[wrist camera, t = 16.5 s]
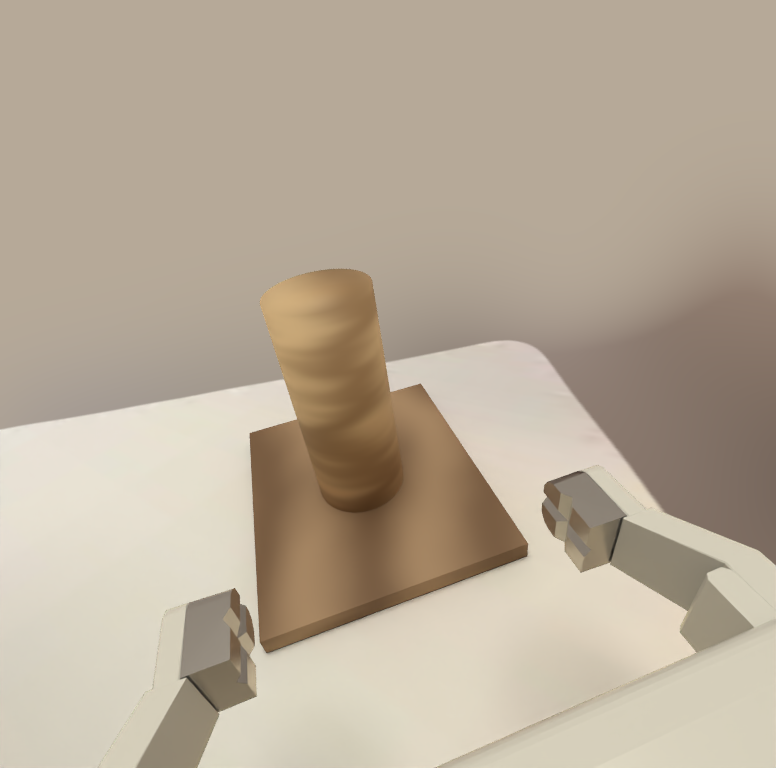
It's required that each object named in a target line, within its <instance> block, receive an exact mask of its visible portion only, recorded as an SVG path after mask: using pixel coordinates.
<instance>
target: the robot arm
mask: <svg viewBox="0 0 776 768" xmlns="http://www.w3.org/2000/svg"><path fill="white" fill-rule="evenodd" d="M544 493H545V494H546V496H547V498H546V499H545V500H544V502H543V503H542V514H543V518H544V521H545V523H546V525H547V527H548V529H549V530H550V532H551V533H552V535H553V536H554V537H555V538H557V539H559V540H561V541H563V542H565V552H566V554H567V555H568V556H569V558H570V559H571V560H572V562H573V563H574V564H575V566H576V567H577V568H578V570H579V571H580V572H581V573H582V572H584V571H587V570H590V569H593V568H596V567H599V566H602V565H604V564H607V563H610V562H611V563H610V564H611V565H612V566H614V567H616V568H617V569H619V570H621V571H622V572H624V573H625V574H627V575H629V576H630V577H632V578H634V579H635V580H637V581H639V582H640V583H642V584H644V585H645V586H647V587H649V588H650V589H652V590H654V591H655V592H657V593H659V594H660V595H662V596H664V597H665V598H667V599H669V600H670V601H672V602H674V603H675V604H677V605H679V606H680V607H682V608H684V609H685V610H687V611H688V612H687V614H686V616H685V618H684V620H683V622H682V624H681V627H680V633H681V634H682V635H683V637H684V638H685V639H686V640H687V641H688V643H689V644H690V645H691V646H692V647H693V649H694V650H695V651H696V652H697V653H695V654H693V655H690V656H688V657H686V658H684V659H681V660H679V661H677V662H675V663H672V664H670V665H668V666H665V667H663V668H661V669H659V670H656V671H654V672H652V673H649V674H647V675H645V676H643V677H640V678H638V679H636V680H634V681H631V682H629V683H627V684H624V685H622V686H620V687H618V688H615V689H613V690H611V691H608V692H606V693H604V694H602V695H599V696H597V697H595V698H592V699H590V700H588V701H586V702H583V703H581V704H579V705H577V706H574V707H572V708H570V709H567V710H565V711H563V712H561V713H558V714H556V715H554V716H551V717H549V718H547V719H545V720H542V721H540V722H538V723H535V724H533V725H531V726H529V727H526V728H524V729H522V730H520V731H517V732H515V733H513V734H510V735H508V736H506V737H504V738H501V739H499V740H497V741H494V742H492V743H490V744H488V745H485V746H483V747H481V748H479V749H476V750H474V751H472V752H469V753H467V754H465V755H463V756H460V757H458V758H456V759H453V760H451V761H449V762H447V763H444V764H442V765H440V766H437V767H435V768H776V565H775V564H773V563H772V562H771V561H770V560H769V559H767V558H766V557H765V556H764V555H763V554H762V553H761V552H759V551H758V550H755V549H753V548H750V547H748V546H745V545H743V544H740V543H738V542H735V541H733V540H730V539H728V538H725V537H723V536H720V535H718V534H715V533H713V532H710V531H708V530H705V529H703V528H700V527H698V526H695V525H693V524H690V523H688V522H685V521H683V520H680V519H678V518H676V517H673V516H671V515H668V514H666V513H663V512H661V511H658V510H656V509H653V508H649V509H645V508H644V507H643V506H642V505H641V504H640V503H639V502H638V501H637V500H636V499H635V498H634V497H633V496H632V495H631V494H630V493H629V492H628V491H627V490H626V489H625V488H624V487H623V486H622V485H621V484H620V483H619V482H618V481H617V480H616V479H615V478H613V477H612V476H611V475H610V474H609V473H608V472H607V471H606V470H605V469H604V468H603V467H601V466H599V465H596V466H593V467H590V468H587V469H584V470H582V471H577V472H574V473H571V474H568V475H566V476H563V477H560V478H557V479H554V480H552V481H549V482H547V483H546V484H545V485H544ZM254 646H255V640H254V630H253V624H252V619H251V616H250V613H249V611H248V609H247V607H246V606H245V605H241V604H240V595H239V594H238V592H237V591H236V589H235V588H234V589H231V590H228V591H225V592H221V593H218V594H215V595H212V596H209V597H206V598H203V599H200V600H197V601H194V602H190V603H187V604H184V605H181V606H178V607H175V608H172V609H169V610H166V612H165V614H164V616H163V619H162V624H161V631H160V639H159V646H158V653H157V660H156V667H155V674H154V681H153V689H152V690H150V691H147V692H145V694H144V695H143V697H142V698H141V700H140V701H139V703H138V705H137V706H136V708H135V709H134V711H133V713H132V714H131V716H130V717H129V719H128V720H127V722H126V724H125V725H124V727H123V728H122V730H121V732H120V733H119V735H118V736H117V738H116V739H115V741H114V743H113V744H112V746H111V747H110V749H109V751H108V752H107V754H106V755H105V757H104V758H103V760H102V762H101V763H100V765H99V766H98V768H197V767H198V764H199V762H200V760H201V757H202V755H203V752H204V750H205V748H206V745H207V743H208V741H209V738H210V736H211V733H212V731H213V729H214V726H215V724H216V722H217V719H218V717H219V713H218V712H220V711H223V710H225V709H228V708H230V707H232V706H235V705H237V704H240V703H242V702H245V701H247V700H249V699H252V698H254V697H257V692H256V665H255V664H254V662H253V661H252V659H251V658H250V654H251V652H252V650H253V648H254Z"/></svg>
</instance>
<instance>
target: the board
mask: <svg viewBox="0 0 776 768" xmlns="http://www.w3.org/2000/svg"><path fill="white" fill-rule="evenodd" d="M390 395H391V401H392V407H393V413H394V419H395V425H396V432H397V438H398V444H399V450H400V456H401V462H402V469H403V482H402V485H401V487H400V489H399V491H398V492H397V493H396V495H395V496H394V497H393V498H392V499H391V500H389V501H388V502H387V503H385V504H384V505H382V506H380V507H378V508H375V509H373V510H369V511H365V512H356V513H353V512H345V511H341V510H338V509H336V508H334V507H332V506H331V505H329V504H328V503H327V502H326V501H325V499H324V498H323V496H322V493H321V490H320V487H319V484H318V481H317V478H316V475H315V472H314V469H313V466H312V463H311V460H310V456H309V453H308V450H307V447H306V444H305V441H304V438H303V435H302V432H301V429H300V426H299V423H298V420H294V421H290V422H287V423H283V424H280V425H276V426H273V427H269V428H266V429H263V430H259V431H256V432H252V433H250V450H251V471H252V491H253V512H254V532H255V553H256V574H257V594H258V615H259V635H260V643H261V645H262V646H263V648H264V650H265V651H266V653H268V652H271V651H273V650H276V649H279V648H281V647H284V646H287V645H289V644H292V643H295V642H297V641H300V640H303V639H305V638H308V637H311V636H313V635H316V634H319V633H321V632H324V631H327V630H329V629H332V628H335V627H338V626H340V625H343V624H346V623H348V622H351V621H354V620H356V619H359V618H362V617H364V616H367V615H370V614H372V613H375V612H378V611H380V610H383V609H386V608H388V607H391V606H394V605H397V604H399V603H402V602H405V601H407V600H410V599H413V598H415V597H418V596H421V595H423V594H426V593H429V592H431V591H434V590H437V589H439V588H442V587H445V586H447V585H450V584H453V583H456V582H458V581H461V580H464V579H466V578H469V577H472V576H474V575H477V574H480V573H482V572H485V571H488V570H490V569H493V568H496V567H498V566H501V565H504V564H506V563H509V562H512V561H514V560H517V559H520V558H523V557H525V556H527V550H528V543H527V541H526V540H525V538H524V537H523V535H522V534H521V532H520V531H519V529H518V528H517V526H516V525H515V523H514V522H513V521H512V519H511V518H510V516H509V515H508V513H507V512H506V510H505V509H504V507H503V506H502V504H501V503H500V501H499V500H498V498H497V497H496V495H495V494H494V492H493V491H492V489H491V488H490V486H489V485H488V483H487V482H486V480H485V479H484V477H483V476H482V474H481V473H480V471H479V470H478V468H477V467H476V465H475V464H474V462H473V461H472V459H471V458H470V456H469V455H468V453H467V452H466V450H465V449H464V447H463V446H462V444H461V443H460V441H459V440H458V438H457V437H456V436H455V434H454V433H453V431H452V430H451V428H450V427H449V425H448V424H447V422H446V421H445V419H444V418H443V416H442V415H441V413H440V412H439V410H438V409H437V407H436V406H435V404H434V403H433V401H432V400H431V398H430V397H429V395H428V394H427V392H426V391H425V389H424V388H423V386H422V385H421V384H418V385H414V386H411V387H408V388H404V389H401V390H397V391H394V392H390Z"/></svg>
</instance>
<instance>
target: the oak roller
mask: <svg viewBox="0 0 776 768" xmlns="http://www.w3.org/2000/svg"><path fill="white" fill-rule="evenodd" d="M260 306H261V309H262V312H263V315H264V318H265V321H266V324H267V327H268V330H269V333H270V337H271V339H272V343H273V346H274V349H275V352H276V355H277V358H278V361H279V364H280V367H281V370H282V373H283V376H284V380H285V383H286V386H287V389H288V392H289V395H290V398H291V401H292V404H293V407H294V410H295V413H296V416H297V420H298V423H299V426H300V429H301V432H302V435H303V438H304V441H305V444H306V447H307V450H308V453H309V456H310V460H311V463H312V466H313V469H314V472H315V475H316V478H317V481H318V484H319V487H320V490H321V493H322V496H323V498H324V499H325V501H326V502H327V503H328V504H329V505H331V506H332V507H334V508H336V509H338V510H341V511H345V512H353V513H356V512H365V511H369V510H373V509H375V508H378V507H380V506H382V505H384V504H385V503H387V502H388V501H389V500H391V499H392V498H393V497H394V496H395V495H396V493H397V492H398V491H399V489H400V487H401V485H402V482H403V469H402V462H401V456H400V450H399V444H398V438H397V432H396V425H395V419H394V413H393V407H392V401H391V395H390V388H389V382H388V376H387V370H386V364H385V358H384V351H383V345H382V339H381V333H380V327H379V321H378V314H377V308H376V302H375V296H374V290H373V284H372V279H371V277H370V276H368V275H367V274H365V273H363V272H361V271H357V270H351V269H329V270H321V271H314V272H310V273H305V274H302V275H298V276H295V277H292V278H290V279H287V280H285V281H283V282H281V283H278V284H277V285H275V286H273V287H272V288H270V289H269V290H268V291H267V292H265V294H263V296H262V297H261V300H260Z"/></svg>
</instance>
